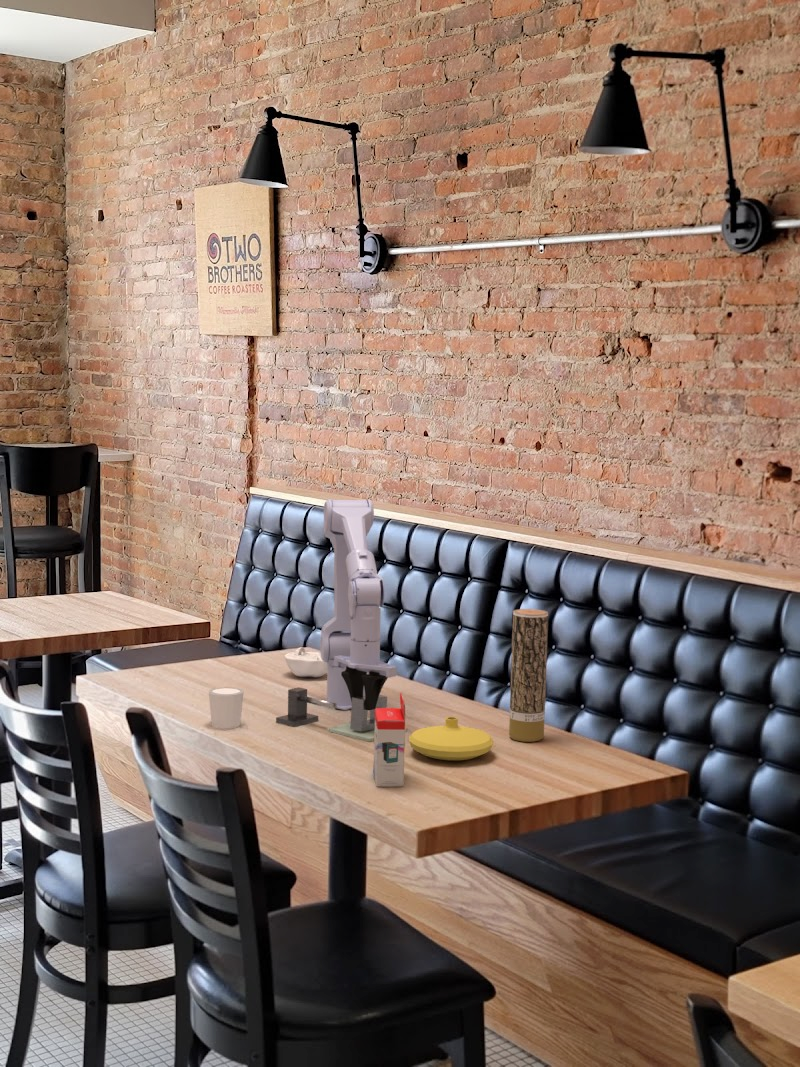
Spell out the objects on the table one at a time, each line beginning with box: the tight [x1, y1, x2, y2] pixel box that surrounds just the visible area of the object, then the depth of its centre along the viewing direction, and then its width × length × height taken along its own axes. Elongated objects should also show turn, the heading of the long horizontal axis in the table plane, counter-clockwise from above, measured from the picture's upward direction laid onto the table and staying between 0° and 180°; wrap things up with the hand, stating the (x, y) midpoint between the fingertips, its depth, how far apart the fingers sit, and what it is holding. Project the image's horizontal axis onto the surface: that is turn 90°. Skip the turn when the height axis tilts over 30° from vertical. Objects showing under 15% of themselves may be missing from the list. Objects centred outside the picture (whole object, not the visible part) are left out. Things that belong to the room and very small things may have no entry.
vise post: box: [275, 686, 337, 728], centre depth 267 cm, size 7×13×7 cm, turn 50°
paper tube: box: [508, 608, 549, 743], centre depth 260 cm, size 7×7×25 cm
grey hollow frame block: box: [350, 694, 388, 732], centre depth 263 cm, size 7×3×6 cm, turn 140°
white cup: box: [208, 687, 245, 730], centre depth 265 cm, size 7×7×7 cm
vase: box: [408, 716, 495, 761], centre depth 248 cm, size 16×16×7 cm
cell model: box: [283, 646, 327, 678], centre depth 310 cm, size 10×12×7 cm
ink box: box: [372, 692, 406, 788], centre depth 231 cm, size 8×5×15 cm, turn 5°
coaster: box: [327, 718, 408, 743], centre depth 264 cm, size 11×11×1 cm
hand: (363, 707), depth 261 cm, fingers closed on grey hollow frame block, 3 cm apart
